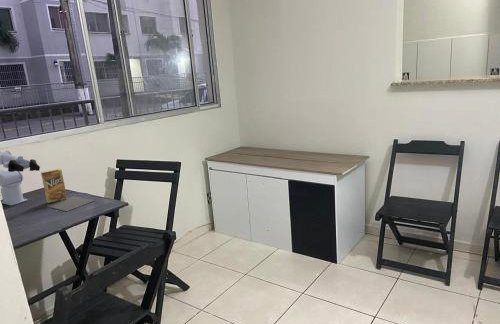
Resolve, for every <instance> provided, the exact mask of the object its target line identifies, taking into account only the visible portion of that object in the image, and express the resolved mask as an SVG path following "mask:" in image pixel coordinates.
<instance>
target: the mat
mask: <svg viewBox="0 0 500 324" xmlns="http://www.w3.org/2000/svg"><path fill="white" fill-rule="evenodd" d="M93 202H96V200H94V199H89V198H85V197H80V196H75V195H73V196H70V197H67V199H65V200H59V201H56V202H53V203H51V204H48V205H46V208H51V209H55V210H58V211H63V212H70V211H72V210H74V209H77V208H80V207H83V206H85V205H88V204H91V203H93Z"/></svg>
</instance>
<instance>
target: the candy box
mask: <svg viewBox="0 0 500 324" xmlns="http://www.w3.org/2000/svg"><path fill="white" fill-rule="evenodd" d="M40 175H41V179H42V180H41V181H42V184H43V187H44V188H43V190H44V193H45V199H46V202H47V203H48V204H49V203H55V202H59V201H62V200H65V199H68V196H67V195H68V194H67V190H66V186H65V182H64V176H63V171H62V169H61V168H57V169H53V170H47V171H46V170H45V171H41V172H40Z"/></svg>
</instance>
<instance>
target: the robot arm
mask: <svg viewBox="0 0 500 324" xmlns="http://www.w3.org/2000/svg"><path fill="white" fill-rule="evenodd" d="M1 165H2V167H3V168H5V169H7V170H4V169H0V187H1V188H0V192H1V193H0V194H1V196H2V197H1V198H2V201H1V202H2V203H1V204H4V205H9V206H14V205H18V204H21V203H23V202H26V201H28V198H24V196H23V195H24V194H23V191H22V186H21V184H22V182H23V181H24V175H23V173H22V172H24V170H27V169H29V171H30V172H33V171H37V172H38V171H39V172H40V169H41V166H40V165H39V164H38V163H37V160H36V159H32V158H31V159H29V160H27V159H25V158H24V156H22V155H19V156H15V155H12V153H11V152H10V151H8V150H6V151H0V166H1Z"/></svg>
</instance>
